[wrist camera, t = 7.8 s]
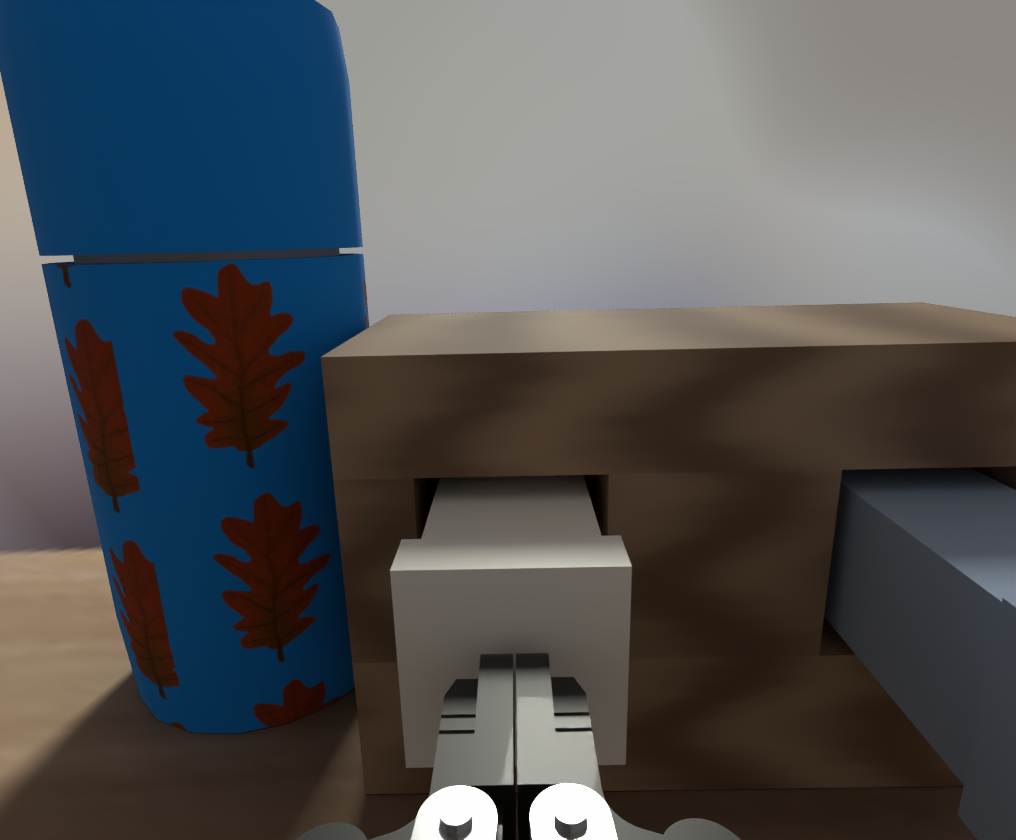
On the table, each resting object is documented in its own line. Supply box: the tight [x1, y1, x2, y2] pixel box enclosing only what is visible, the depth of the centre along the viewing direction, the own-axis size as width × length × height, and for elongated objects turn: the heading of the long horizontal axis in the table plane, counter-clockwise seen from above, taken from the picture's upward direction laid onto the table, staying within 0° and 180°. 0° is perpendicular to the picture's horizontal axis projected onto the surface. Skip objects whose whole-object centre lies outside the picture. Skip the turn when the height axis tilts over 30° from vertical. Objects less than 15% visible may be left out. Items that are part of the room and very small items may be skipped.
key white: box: [390, 475, 632, 768], centre depth 20 cm, size 5×12×5 cm, turn 0°
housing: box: [321, 303, 1016, 794], centre depth 24 cm, size 22×10×14 cm, turn 90°
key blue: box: [824, 467, 1016, 840], centre depth 17 cm, size 5×12×5 cm, turn 0°
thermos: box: [0, 0, 369, 734], centre depth 26 cm, size 11×11×25 cm
